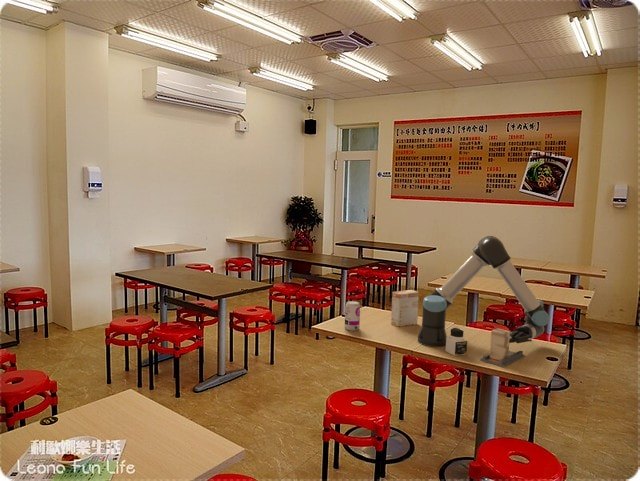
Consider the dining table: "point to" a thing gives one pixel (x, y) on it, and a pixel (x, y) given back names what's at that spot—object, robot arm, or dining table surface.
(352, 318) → the supplement can
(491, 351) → the birch block
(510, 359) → the guide track
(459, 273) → the robot arm
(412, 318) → the coffeecake box
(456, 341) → the medicine bottle
